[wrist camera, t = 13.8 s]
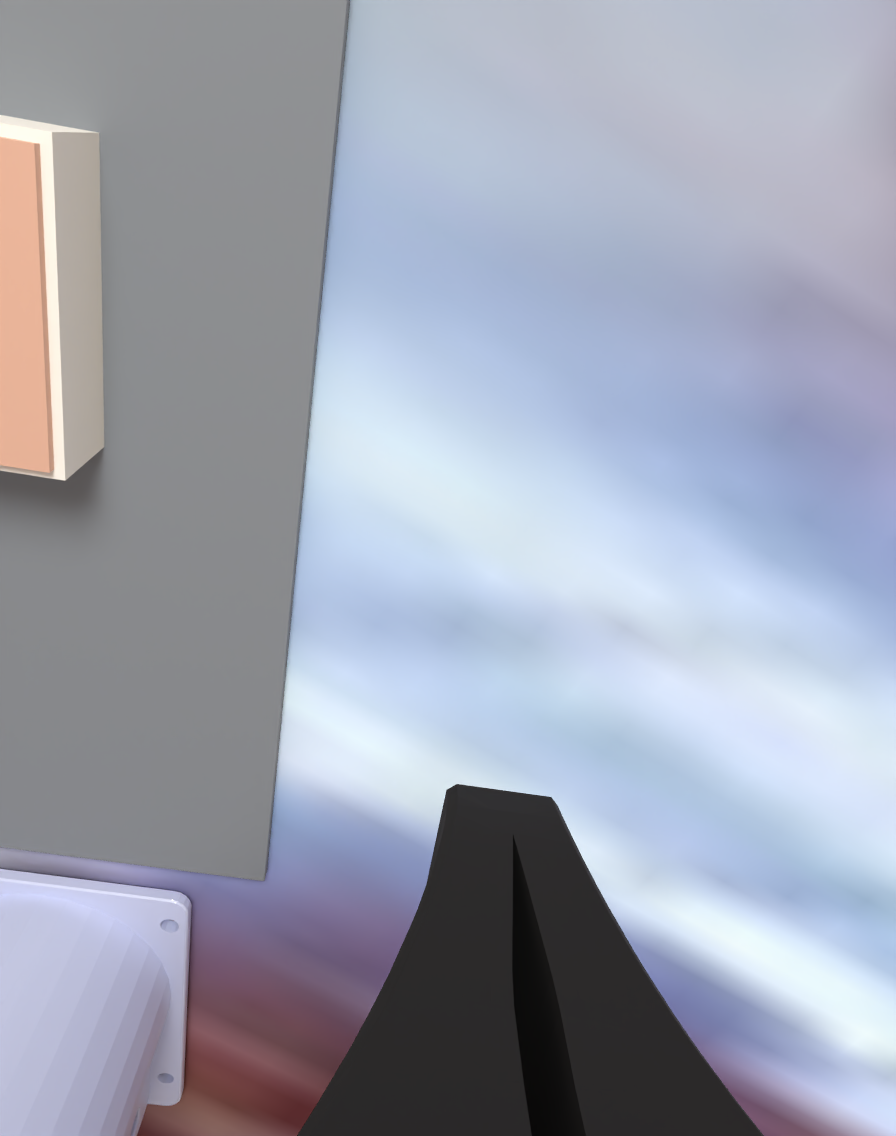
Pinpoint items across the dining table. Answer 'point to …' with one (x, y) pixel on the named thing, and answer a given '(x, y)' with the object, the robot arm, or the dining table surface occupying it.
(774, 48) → the dining table surface
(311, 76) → the mat
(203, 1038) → the dining table surface
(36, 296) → the tile
